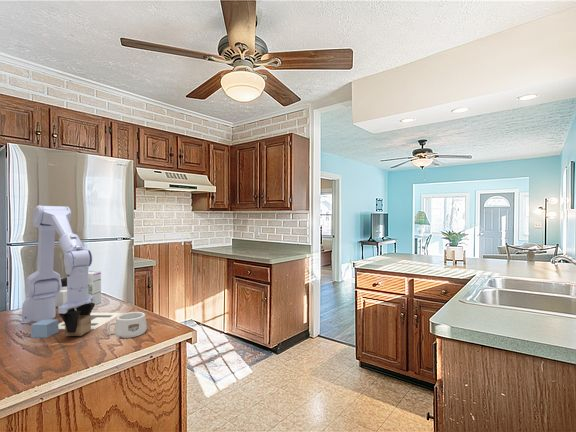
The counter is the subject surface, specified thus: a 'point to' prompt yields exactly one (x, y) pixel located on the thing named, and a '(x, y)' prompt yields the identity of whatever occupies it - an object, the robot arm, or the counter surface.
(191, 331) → the counter surface
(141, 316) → the mug
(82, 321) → the block
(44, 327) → the blue cube
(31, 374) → the counter surface
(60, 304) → the medicine bottle
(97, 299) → the syrup box
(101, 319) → the letter board
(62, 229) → the robot arm
